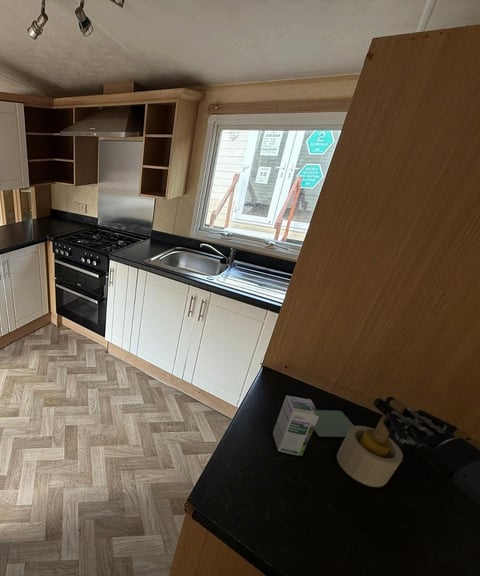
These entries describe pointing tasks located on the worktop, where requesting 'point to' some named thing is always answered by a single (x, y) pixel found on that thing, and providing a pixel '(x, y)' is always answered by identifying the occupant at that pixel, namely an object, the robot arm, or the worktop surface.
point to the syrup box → (295, 425)
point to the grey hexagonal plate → (332, 424)
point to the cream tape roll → (367, 460)
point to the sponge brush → (380, 434)
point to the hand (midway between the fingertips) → (381, 400)
